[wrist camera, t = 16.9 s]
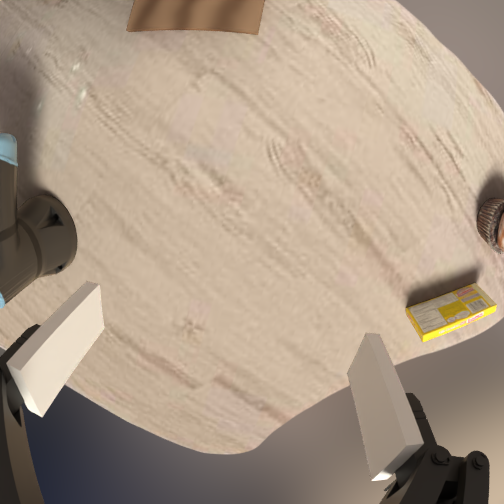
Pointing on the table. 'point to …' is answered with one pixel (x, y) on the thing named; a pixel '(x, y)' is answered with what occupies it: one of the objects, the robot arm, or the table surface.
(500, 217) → the cupcake
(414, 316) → the candy box
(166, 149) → the table surface
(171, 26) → the walnut board
